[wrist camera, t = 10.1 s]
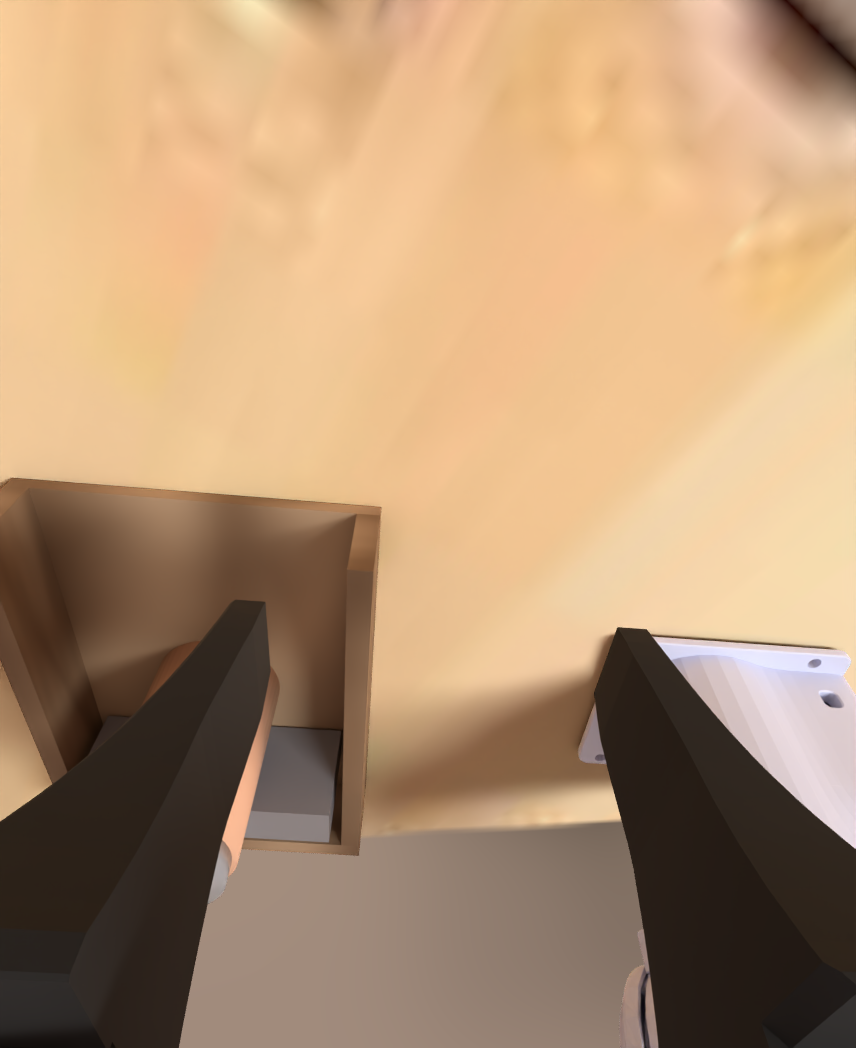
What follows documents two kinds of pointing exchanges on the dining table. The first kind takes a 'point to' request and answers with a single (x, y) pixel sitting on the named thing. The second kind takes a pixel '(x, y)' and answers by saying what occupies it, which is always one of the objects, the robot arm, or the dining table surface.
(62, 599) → the brown wooden tray
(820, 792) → the robot arm
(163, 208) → the dining table surface
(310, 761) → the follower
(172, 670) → the jar
